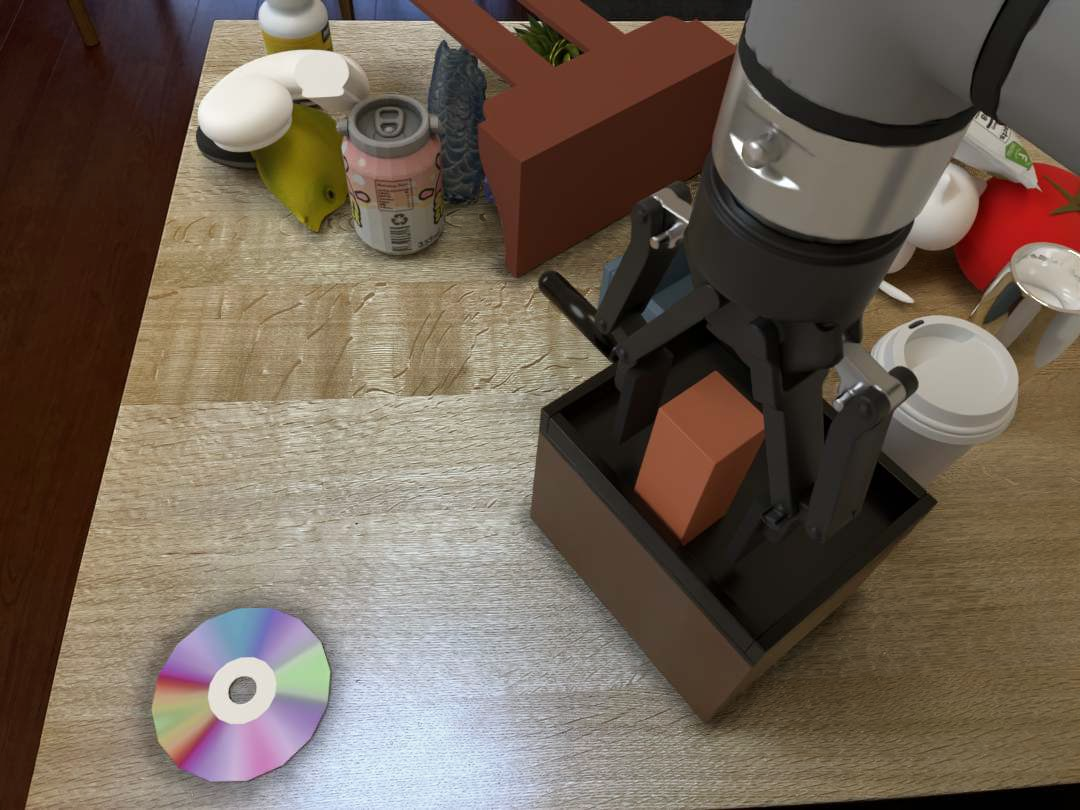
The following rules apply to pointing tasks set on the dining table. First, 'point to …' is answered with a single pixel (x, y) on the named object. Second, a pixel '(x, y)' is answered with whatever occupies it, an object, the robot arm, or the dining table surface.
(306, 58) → the sculpture
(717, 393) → the terracotta block
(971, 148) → the frozen beans
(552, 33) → the potted plant
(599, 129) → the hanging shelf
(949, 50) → the robot arm
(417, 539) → the dining table surface
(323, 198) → the fish
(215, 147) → the computer mouse
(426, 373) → the dining table surface
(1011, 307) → the metal tumbler
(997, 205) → the tomato
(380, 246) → the beverage can
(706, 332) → the pan
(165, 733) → the cd
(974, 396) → the coffee cup
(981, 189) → the cat figurine
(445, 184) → the fish model
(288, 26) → the pill bottle
